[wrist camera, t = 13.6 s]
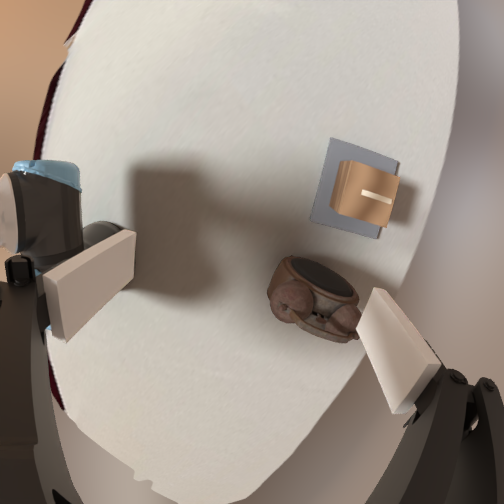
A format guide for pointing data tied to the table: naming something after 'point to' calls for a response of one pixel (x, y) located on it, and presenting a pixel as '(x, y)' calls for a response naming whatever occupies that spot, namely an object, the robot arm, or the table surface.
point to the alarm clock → (314, 299)
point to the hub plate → (321, 205)
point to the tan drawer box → (364, 192)
